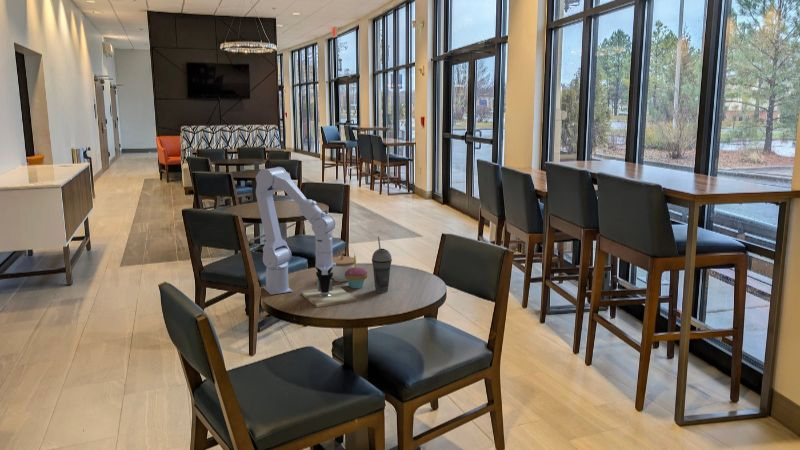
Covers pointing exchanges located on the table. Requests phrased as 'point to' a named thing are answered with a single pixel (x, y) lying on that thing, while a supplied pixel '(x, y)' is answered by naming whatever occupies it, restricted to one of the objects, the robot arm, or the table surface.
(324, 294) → the stud
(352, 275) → the cupcake
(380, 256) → the beverage cup
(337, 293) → the board
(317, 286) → the cap
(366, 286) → the table surface
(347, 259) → the lidded jar
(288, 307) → the table surface
